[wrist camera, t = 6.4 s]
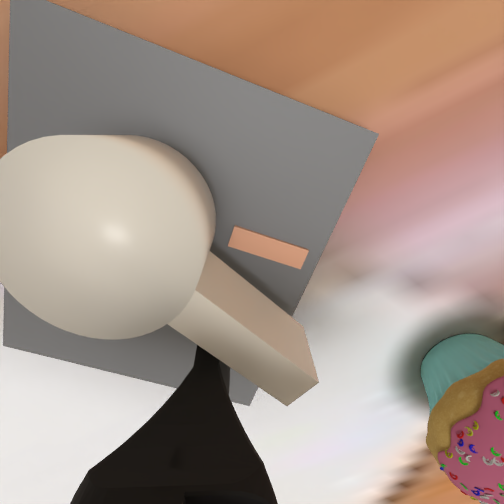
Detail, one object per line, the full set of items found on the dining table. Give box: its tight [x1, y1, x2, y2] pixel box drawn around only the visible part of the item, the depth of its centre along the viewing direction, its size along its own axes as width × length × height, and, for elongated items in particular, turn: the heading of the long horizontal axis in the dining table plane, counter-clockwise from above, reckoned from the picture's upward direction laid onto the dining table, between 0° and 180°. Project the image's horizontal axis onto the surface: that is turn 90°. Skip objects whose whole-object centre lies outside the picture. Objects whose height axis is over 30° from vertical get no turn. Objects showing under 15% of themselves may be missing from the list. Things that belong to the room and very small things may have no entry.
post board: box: [3, 0, 379, 406], centre depth 14 cm, size 14×16×2 cm
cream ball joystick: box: [0, 135, 319, 406], centre depth 10 cm, size 12×6×4 cm, turn 47°
